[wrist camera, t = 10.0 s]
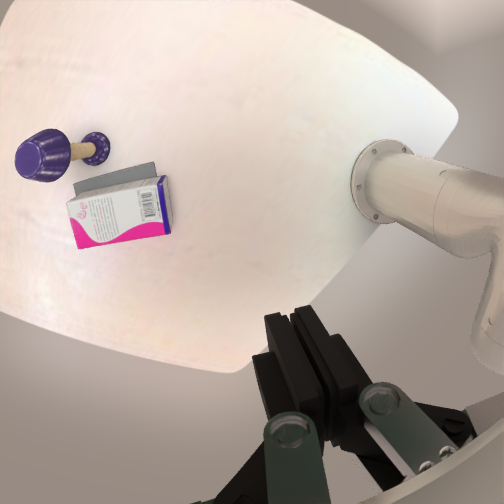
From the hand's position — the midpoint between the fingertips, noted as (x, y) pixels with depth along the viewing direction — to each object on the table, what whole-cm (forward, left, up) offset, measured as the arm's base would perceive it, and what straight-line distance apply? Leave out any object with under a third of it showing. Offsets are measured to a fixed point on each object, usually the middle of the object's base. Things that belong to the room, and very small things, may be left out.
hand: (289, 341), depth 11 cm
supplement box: (+6, 0, -26) cm, 26 cm away
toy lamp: (+15, -9, -29) cm, 34 cm away
